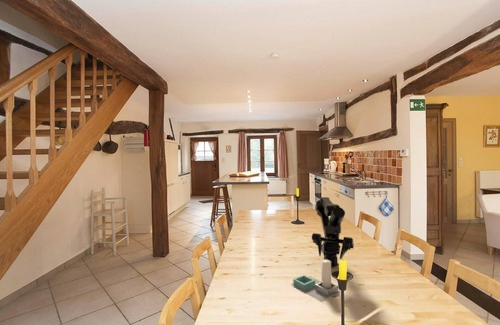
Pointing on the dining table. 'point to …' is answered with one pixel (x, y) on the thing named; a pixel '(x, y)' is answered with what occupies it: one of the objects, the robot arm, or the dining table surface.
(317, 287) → the grey socket
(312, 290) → the console board
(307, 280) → the teal socket
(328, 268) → the plug
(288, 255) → the dining table surface
